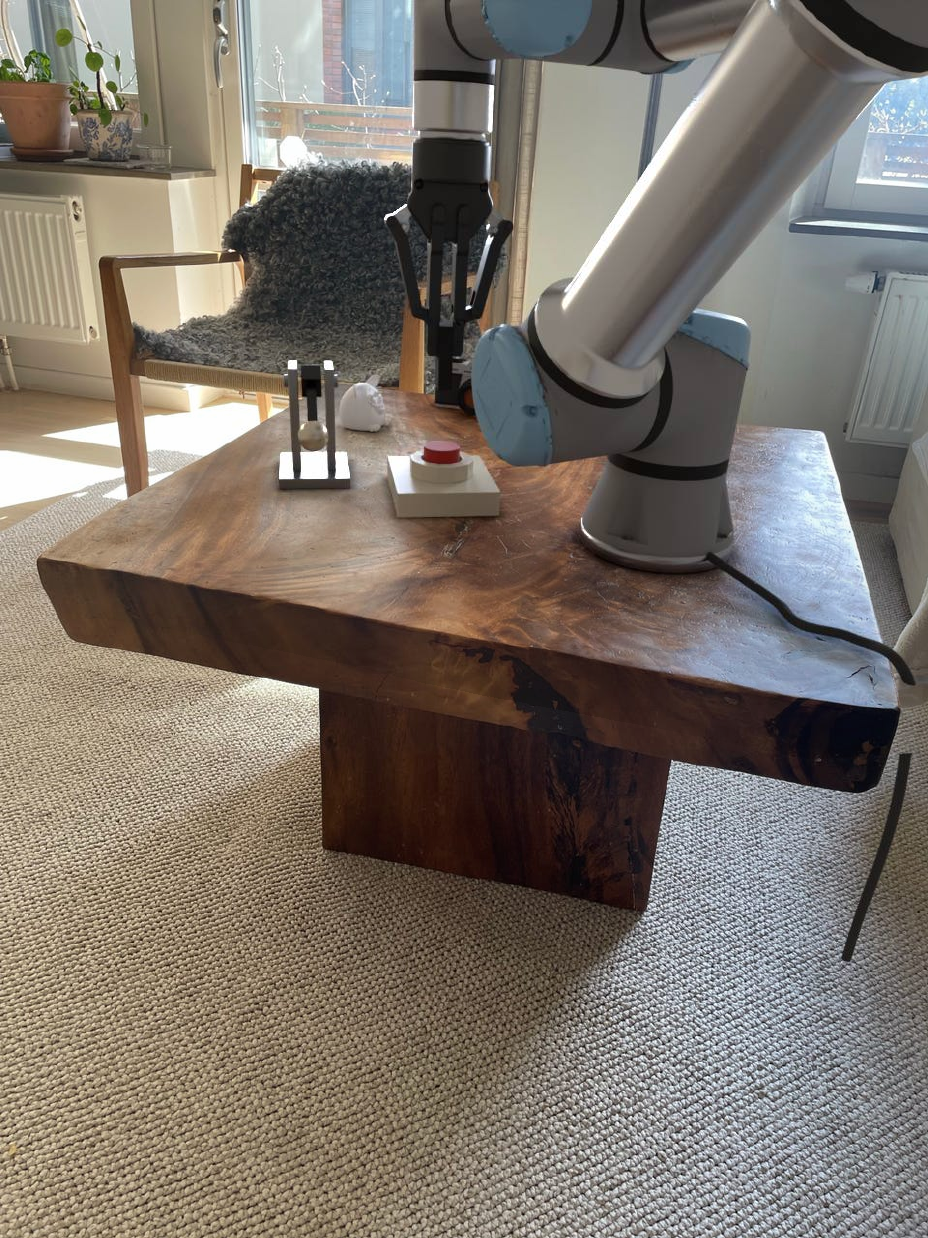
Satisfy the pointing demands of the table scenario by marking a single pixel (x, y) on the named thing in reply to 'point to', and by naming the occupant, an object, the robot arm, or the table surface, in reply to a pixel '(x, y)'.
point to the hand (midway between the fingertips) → (443, 386)
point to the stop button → (442, 452)
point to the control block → (441, 487)
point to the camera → (458, 388)
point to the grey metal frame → (313, 466)
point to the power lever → (312, 410)
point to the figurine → (363, 407)
